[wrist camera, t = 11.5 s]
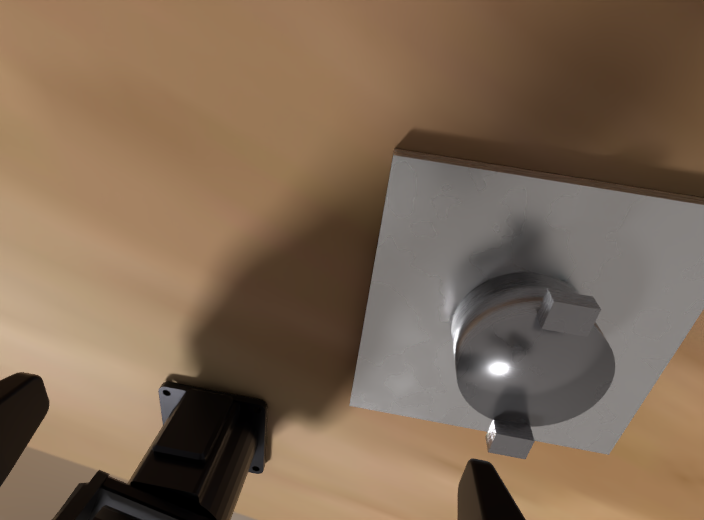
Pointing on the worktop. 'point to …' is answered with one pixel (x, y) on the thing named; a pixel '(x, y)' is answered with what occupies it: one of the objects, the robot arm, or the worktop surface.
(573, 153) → the worktop surface
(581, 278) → the grey square plate
